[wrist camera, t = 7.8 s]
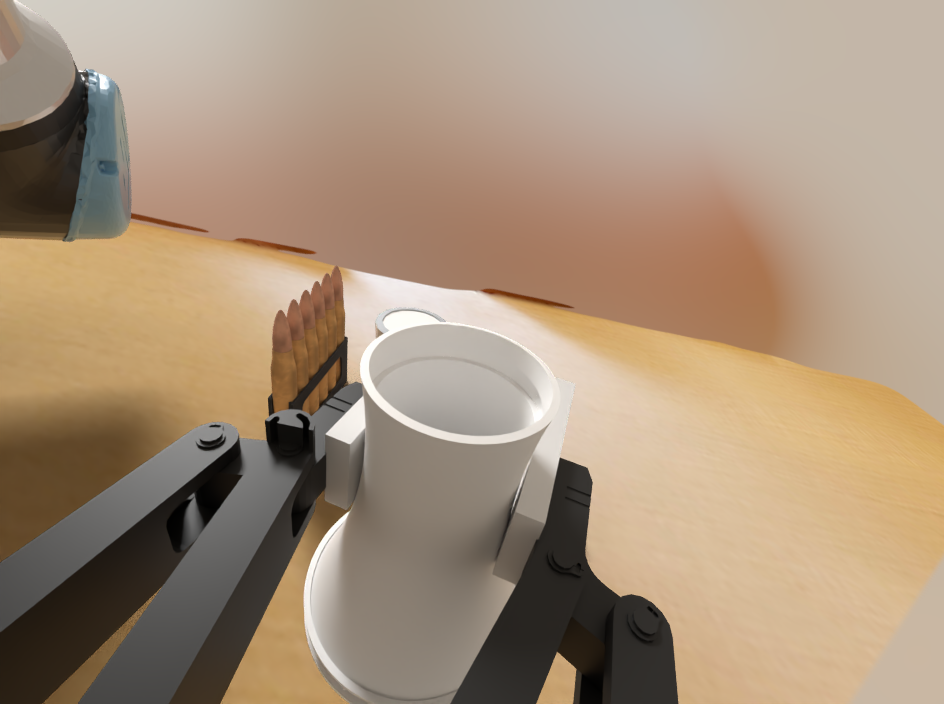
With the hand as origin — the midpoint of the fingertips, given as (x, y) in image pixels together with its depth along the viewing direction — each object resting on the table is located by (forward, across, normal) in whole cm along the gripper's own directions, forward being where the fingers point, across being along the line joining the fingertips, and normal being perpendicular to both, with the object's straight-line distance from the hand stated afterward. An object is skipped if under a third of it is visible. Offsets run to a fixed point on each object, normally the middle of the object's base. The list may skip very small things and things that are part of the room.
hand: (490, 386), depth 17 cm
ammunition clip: (+11, -16, -17) cm, 25 cm away
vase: (-5, 0, -6) cm, 8 cm away
